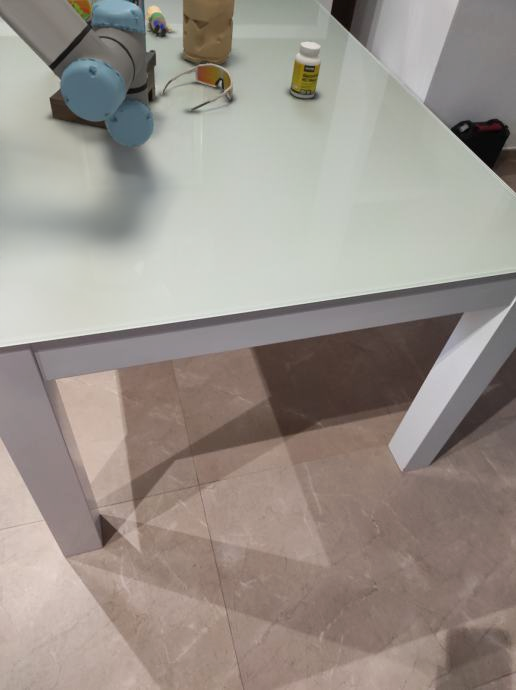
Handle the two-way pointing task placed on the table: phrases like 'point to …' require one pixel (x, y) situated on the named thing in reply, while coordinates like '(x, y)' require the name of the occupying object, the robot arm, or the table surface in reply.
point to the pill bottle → (306, 70)
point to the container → (207, 30)
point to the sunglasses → (209, 80)
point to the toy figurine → (157, 20)
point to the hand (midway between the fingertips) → (97, 43)
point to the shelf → (65, 113)
